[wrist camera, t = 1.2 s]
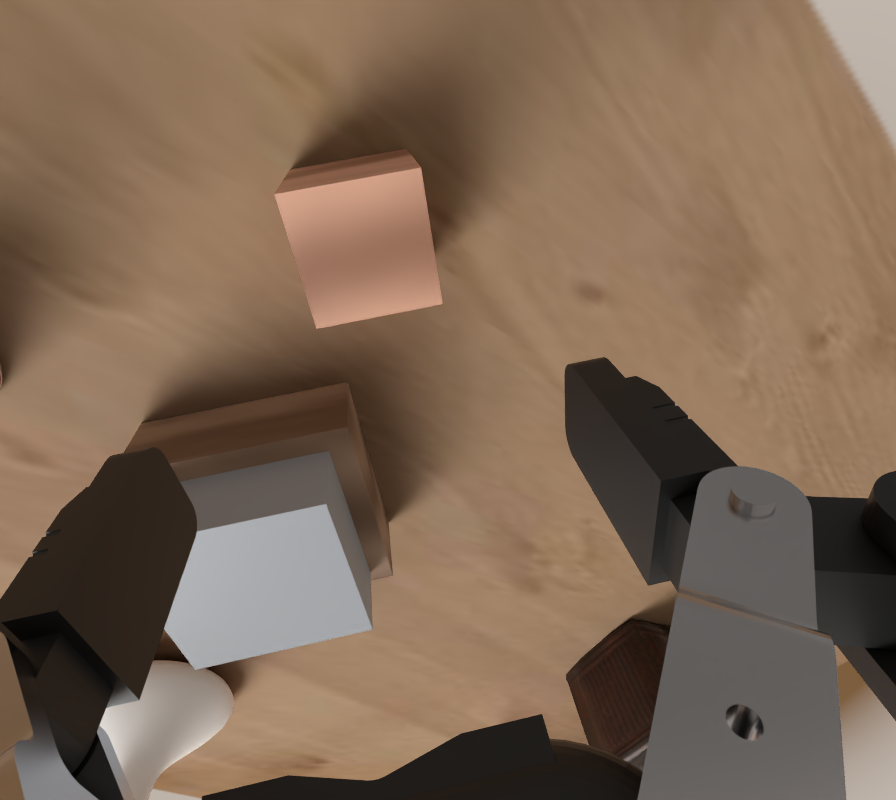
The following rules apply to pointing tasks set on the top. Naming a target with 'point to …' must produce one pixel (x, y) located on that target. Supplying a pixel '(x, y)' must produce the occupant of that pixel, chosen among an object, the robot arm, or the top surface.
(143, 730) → the flower in vase
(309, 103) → the top surface
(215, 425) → the walnut base block
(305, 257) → the terracotta block
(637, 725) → the coffee grinder
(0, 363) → the soda can
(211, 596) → the grey top block
